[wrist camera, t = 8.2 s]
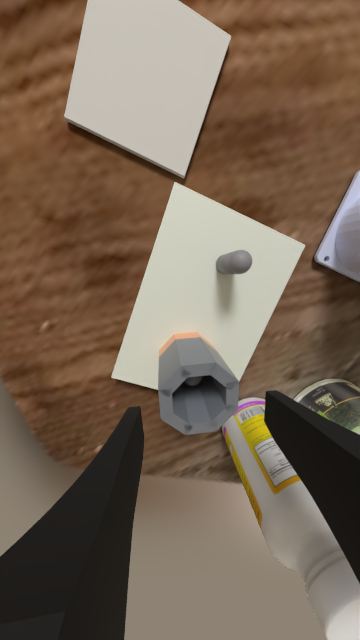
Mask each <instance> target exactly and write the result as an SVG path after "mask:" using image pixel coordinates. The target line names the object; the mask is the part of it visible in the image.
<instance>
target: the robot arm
mask: <svg viewBox="0 0 360 640" xmlns="http://www.w3.org/2000/svg"><path fill="white" fill-rule="evenodd" d="M325 257H326V260H325V261H324V258H325ZM314 260H315V261H316V262H317V263H319V264H321V265H323V266H325V267H328V268H330V269H332V270H334V271H336V272H338V273H340V274H342V275H345V276H347V277H349V278H351V279H353V280H355V281H357V282H359V283H360V171H358V172H357V173H356V174H355V176H354V178H353V180H352V182H351V184H350V186H349V188H348V190H347V192H346V194H345V196H344V198H343V200H342V202H341V204H340V206H339V208H338V210H337V212H336V214H335V216H334V218H333V220H332V222H331V224H330V226H329V228H328V230H327V232H326V234H325V236H324V238H323V240H322V242H321V244H320V246H319V248H318V250H317V252H316V254H315V257H314ZM264 422H265V424H266V426H267V428H268V430H269V432H270V434H271V436H272V437H273V439H274V441H275V442H276V444H277V445H278V447H279V448H280V450H281V451H282V453H283V454H284V456H285V457H286V459H287V460H288V462H289V463H290V465H291V466H292V468H293V469H294V471H295V472H296V473H297V475H298V476H299V478H300V479H301V481H302V482H303V484H304V485H305V487H306V488H307V490H308V492H309V493H310V495H311V496H312V498H313V500H314V501H315V503H316V505H317V507H318V508H319V510H320V512H321V514H322V515H323V517H324V519H325V521H326V522H327V524H328V526H329V528H330V529H331V531H332V533H333V535H334V537H335V539H336V540H337V542H338V544H339V546H340V548H341V549H342V551H343V553H344V555H345V557H346V559H347V561H348V562H349V564H350V566H351V568H352V570H353V572H354V574H355V576H356V578H357V580H358V582H359V583H360V434H357V433H355V432H353V431H351V430H349V429H347V428H345V427H343V426H341V425H339V424H337V423H335V422H333V421H331V420H329V419H327V418H325V417H323V416H322V415H320V414H318V413H316V412H314V411H312V410H311V409H309V408H307V407H305V406H304V405H302V404H300V403H298V402H297V401H295V400H293V399H291V398H289V397H288V396H286V395H284V394H282V393H280V392H278V391H276V390H275V391H266V398H265V412H264ZM143 448H144V432H143V424H142V417H141V409H140V406H137V407H129V408H128V409H127V410H126V412H125V414H124V415H123V417H122V419H121V420H120V422H119V424H118V425H117V427H116V428H115V430H114V431H113V433H112V434H111V436H110V437H109V439H108V440H107V442H106V443H105V444H104V446H103V447H102V449H101V450H100V451H99V453H98V454H97V455H96V457H95V458H94V459H93V461H92V462H91V463H90V464H89V466H88V467H87V468H86V469H85V471H84V472H83V473H82V474H81V475H80V477H79V478H78V479H77V480H76V481H75V482H74V484H73V485H72V486H71V487H70V488H69V489H68V490H67V491H66V492H65V493H64V495H63V496H62V497H61V498H60V499H59V500H58V501H57V502H56V503H55V504H54V506H53V507H52V508H51V509H50V510H49V511H48V512H47V513H46V514H45V515H44V516H43V517H42V518H41V519H40V520H39V521H38V522H36V523H35V524H34V525H33V526H32V527H31V528H30V529H29V530H28V531H27V532H26V533H25V534H24V535H23V536H22V537H21V538H20V539H19V540H18V541H17V542H16V543H15V544H14V545H13V546H11V547H10V548H9V549H8V550H7V551H6V552H5V553H4V554H3V555H2V556H1V557H0V640H124V633H125V618H126V603H127V590H128V577H129V564H130V552H131V540H132V528H133V519H134V512H135V506H136V499H137V492H138V486H139V480H140V474H141V467H142V460H143Z"/></svg>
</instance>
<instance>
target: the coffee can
mask: <svg viewBox="0 0 360 640" xmlns="http://www.w3.org/2000/svg"><path fill="white" fill-rule="evenodd" d="M293 400H295V401H297V402H298V403H300V404H302V405H304V406H305V407H307V408H309V409H311V410H312V411H314V412H316V413H318V414H320V415H322V416H323V417H325V418H327V419H329V420H331V421H333V422H335V423H337V424H339V425H341V426H343V427H345V428H347V429H349V430H351V431H353V432H355V433H357V434H360V388H358V387H356V386H355V385H354V384H352V383H351V382H349V381H346V380H343V379H325V380H321V381H318V382H316V383H313V384H311V385H310V386H308V387H306V388H305V389H303V390H302V391H301V392H300V393H299V394H298V395H297V396H296V397H295V398H294V399H293Z"/></svg>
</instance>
